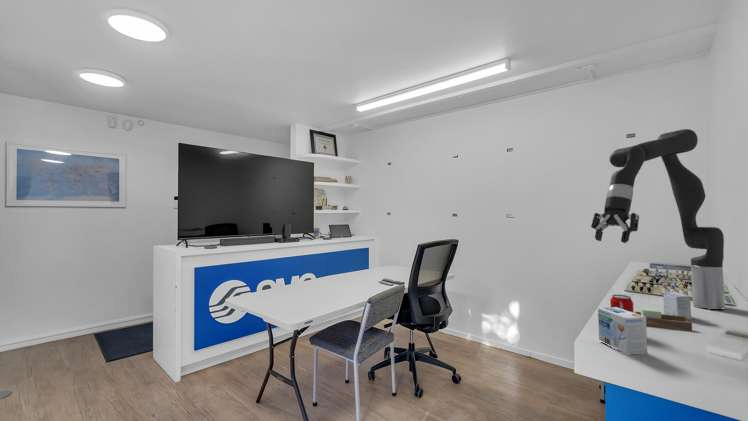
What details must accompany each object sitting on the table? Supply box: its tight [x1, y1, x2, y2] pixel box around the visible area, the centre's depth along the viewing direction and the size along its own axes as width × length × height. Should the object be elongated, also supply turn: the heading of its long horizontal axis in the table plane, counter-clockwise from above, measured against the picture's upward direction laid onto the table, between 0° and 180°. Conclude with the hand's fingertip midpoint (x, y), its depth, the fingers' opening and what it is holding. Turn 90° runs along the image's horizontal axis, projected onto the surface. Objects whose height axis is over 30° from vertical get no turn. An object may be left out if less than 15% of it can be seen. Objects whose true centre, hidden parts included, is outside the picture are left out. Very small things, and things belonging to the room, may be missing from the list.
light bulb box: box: [597, 306, 648, 356], centre depth 98 cm, size 11×7×11 cm, turn 5°
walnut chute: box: [634, 311, 693, 331], centre depth 117 cm, size 8×14×2 cm, turn 59°
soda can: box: [609, 294, 635, 313], centre depth 111 cm, size 6×6×12 cm
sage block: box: [639, 306, 662, 319], centre depth 119 cm, size 5×5×5 cm
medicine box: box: [662, 291, 692, 321], centre depth 125 cm, size 8×4×9 cm, turn 168°
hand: (610, 241), depth 117 cm, fingers open, 8 cm apart
